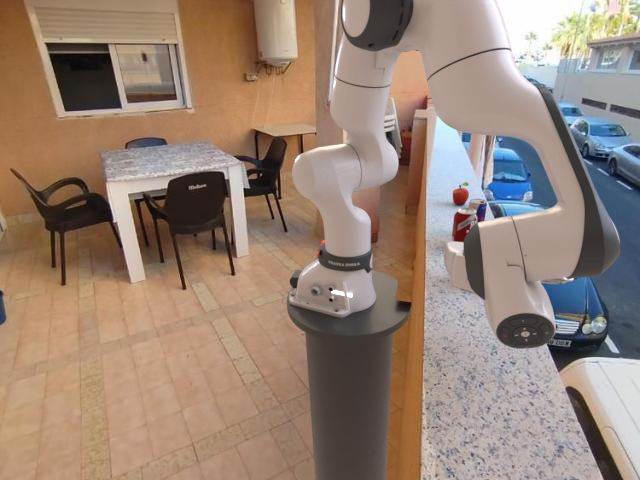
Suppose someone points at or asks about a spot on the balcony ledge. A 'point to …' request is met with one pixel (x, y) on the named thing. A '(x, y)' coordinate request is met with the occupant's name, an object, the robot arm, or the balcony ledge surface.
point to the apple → (460, 195)
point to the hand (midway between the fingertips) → (496, 243)
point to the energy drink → (479, 208)
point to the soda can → (463, 223)
